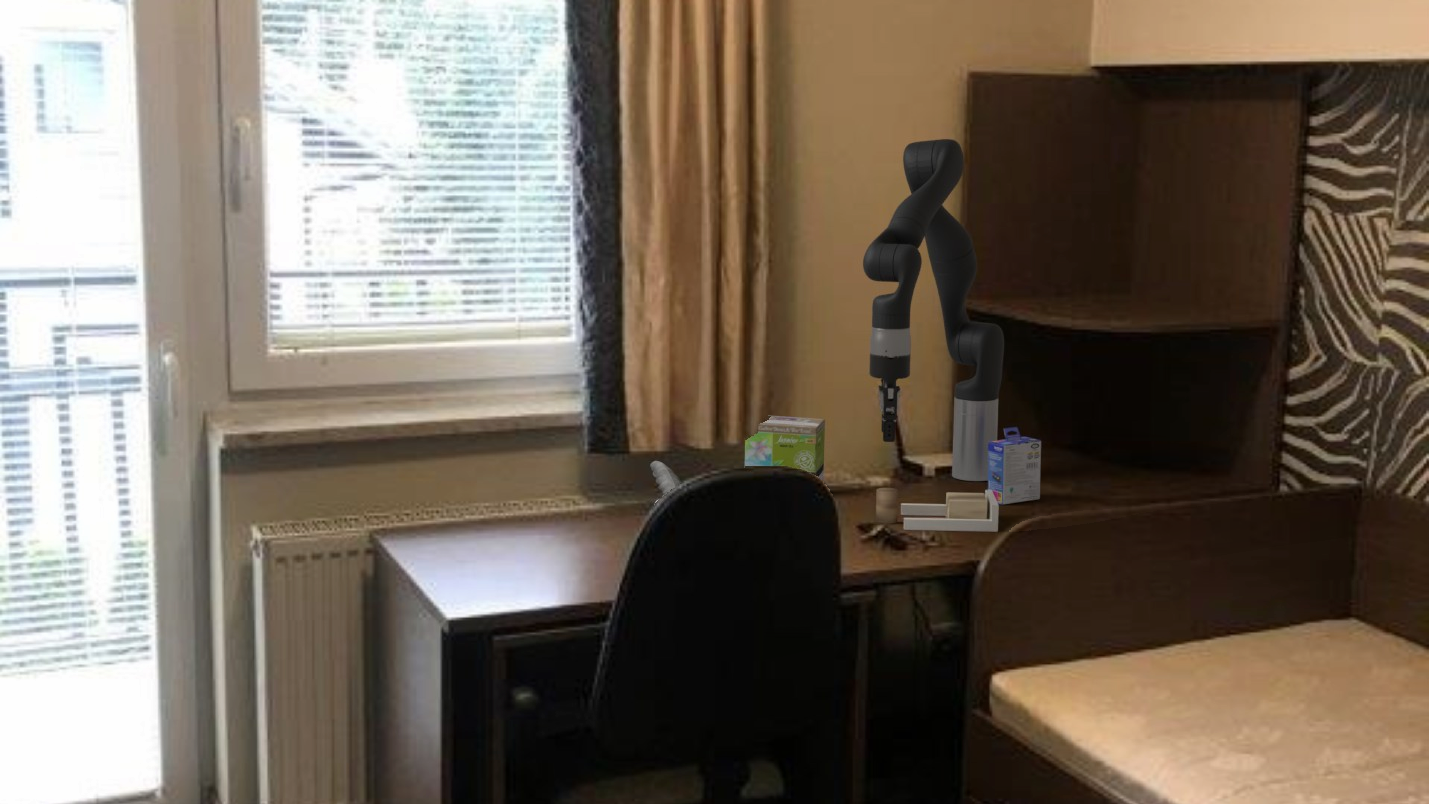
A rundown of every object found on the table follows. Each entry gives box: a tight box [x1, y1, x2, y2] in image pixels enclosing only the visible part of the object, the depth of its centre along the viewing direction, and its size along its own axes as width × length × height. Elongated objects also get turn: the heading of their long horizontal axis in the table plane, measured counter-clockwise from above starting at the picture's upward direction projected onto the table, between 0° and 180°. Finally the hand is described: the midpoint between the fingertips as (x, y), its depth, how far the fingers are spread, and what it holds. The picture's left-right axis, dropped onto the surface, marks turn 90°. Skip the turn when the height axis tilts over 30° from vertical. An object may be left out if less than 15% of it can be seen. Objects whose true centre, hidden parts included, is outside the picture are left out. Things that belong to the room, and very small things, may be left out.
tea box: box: [744, 415, 826, 481], centre depth 316 cm, size 15×10×15 cm, turn 76°
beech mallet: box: [875, 487, 987, 525], centre depth 291 cm, size 7×20×6 cm, turn 86°
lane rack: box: [900, 489, 1000, 533], centre depth 291 cm, size 12×17×5 cm
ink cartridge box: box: [987, 426, 1042, 505], centre depth 308 cm, size 10×6×14 cm, turn 120°
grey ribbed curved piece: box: [649, 460, 682, 504], centre depth 294 cm, size 9×18×10 cm, turn 25°
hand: (888, 437), depth 289 cm, fingers open, 8 cm apart
